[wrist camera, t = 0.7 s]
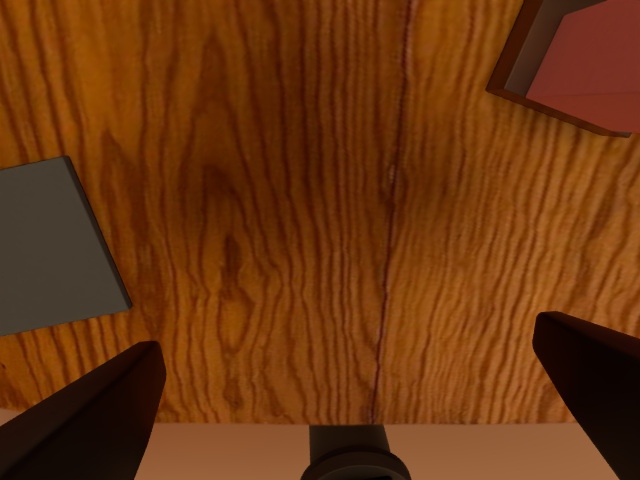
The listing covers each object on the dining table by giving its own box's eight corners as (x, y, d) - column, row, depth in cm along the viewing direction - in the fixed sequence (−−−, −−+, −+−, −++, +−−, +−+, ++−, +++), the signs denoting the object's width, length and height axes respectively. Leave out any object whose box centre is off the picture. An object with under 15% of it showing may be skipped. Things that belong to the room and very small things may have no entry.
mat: (133, 305, 25) (129, 310, 24) (-13, 335, 25) (-20, 340, 24) (68, 155, 21) (62, 156, 21) (-100, 191, 21) (-111, 193, 21)
